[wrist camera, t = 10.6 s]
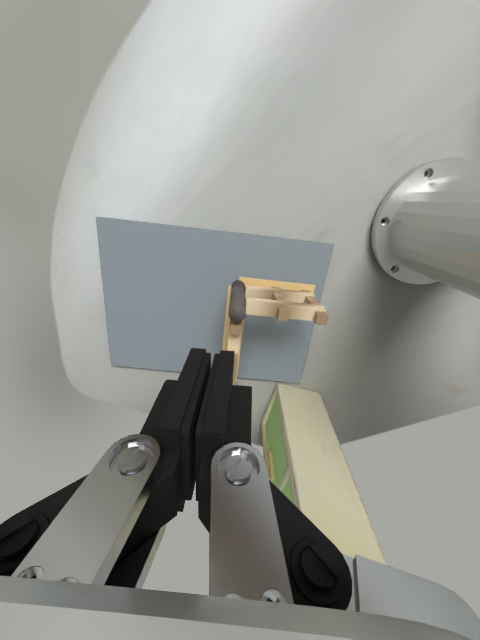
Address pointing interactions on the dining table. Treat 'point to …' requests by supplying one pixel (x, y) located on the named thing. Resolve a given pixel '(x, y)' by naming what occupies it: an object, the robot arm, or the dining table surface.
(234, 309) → the fence fixed
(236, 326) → the fence gate
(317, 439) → the toy refrigerator
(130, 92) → the dining table surface
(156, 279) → the card
